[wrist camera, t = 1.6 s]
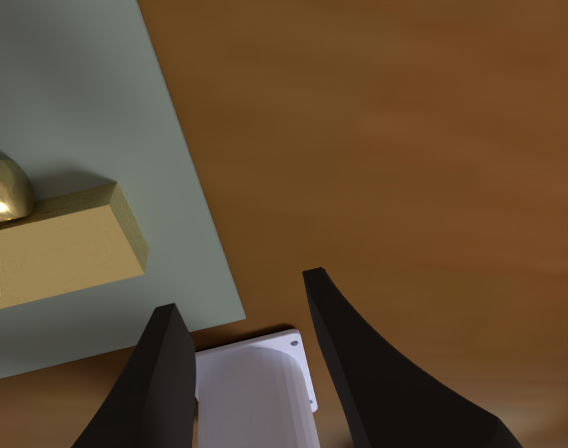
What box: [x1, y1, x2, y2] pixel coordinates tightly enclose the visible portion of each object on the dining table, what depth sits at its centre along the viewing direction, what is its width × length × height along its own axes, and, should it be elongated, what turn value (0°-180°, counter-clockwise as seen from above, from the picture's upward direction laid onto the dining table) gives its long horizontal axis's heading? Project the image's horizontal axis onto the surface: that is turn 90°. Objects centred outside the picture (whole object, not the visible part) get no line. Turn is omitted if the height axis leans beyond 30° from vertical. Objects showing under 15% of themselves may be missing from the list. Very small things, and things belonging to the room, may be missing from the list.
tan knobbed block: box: [0, 160, 149, 309], centre depth 18 cm, size 9×6×2 cm
